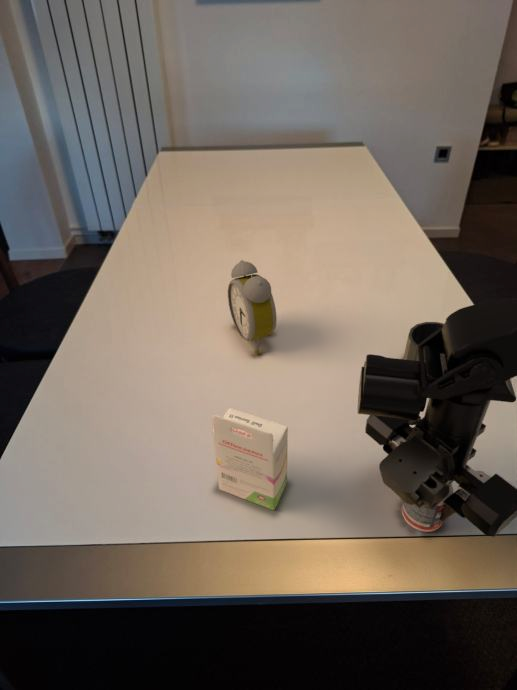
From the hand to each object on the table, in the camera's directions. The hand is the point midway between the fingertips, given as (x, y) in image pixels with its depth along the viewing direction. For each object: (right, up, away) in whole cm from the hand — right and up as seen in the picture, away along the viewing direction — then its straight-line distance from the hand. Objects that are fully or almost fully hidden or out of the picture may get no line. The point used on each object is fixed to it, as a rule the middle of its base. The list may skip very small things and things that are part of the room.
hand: (425, 502), depth 63 cm
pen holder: (+9, +16, +24) cm, 30 cm away
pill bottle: (0, -2, +2) cm, 3 cm away
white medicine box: (-22, 0, +6) cm, 23 cm away
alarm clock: (-22, +21, +32) cm, 45 cm away
